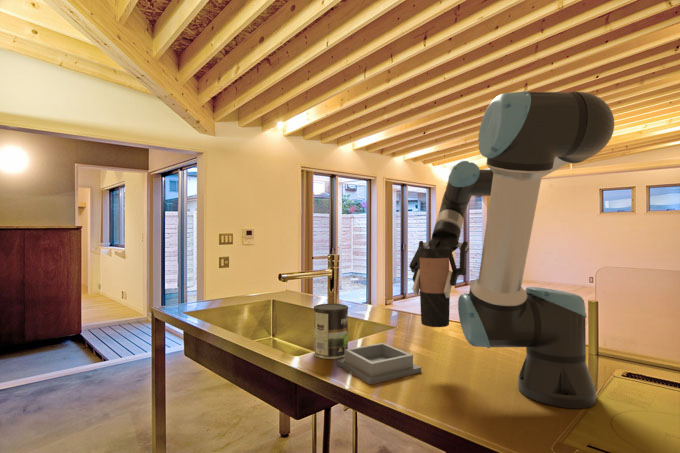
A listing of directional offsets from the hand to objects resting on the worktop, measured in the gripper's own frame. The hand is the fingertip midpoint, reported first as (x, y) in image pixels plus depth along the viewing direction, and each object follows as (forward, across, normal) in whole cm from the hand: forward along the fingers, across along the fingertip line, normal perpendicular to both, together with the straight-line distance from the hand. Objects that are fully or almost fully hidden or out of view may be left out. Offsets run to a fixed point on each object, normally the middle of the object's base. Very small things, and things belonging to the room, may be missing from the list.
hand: (430, 293), depth 97 cm
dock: (+17, +13, -12) cm, 25 cm away
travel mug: (+4, 0, -9) cm, 9 cm away
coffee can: (+15, +31, -15) cm, 37 cm away
